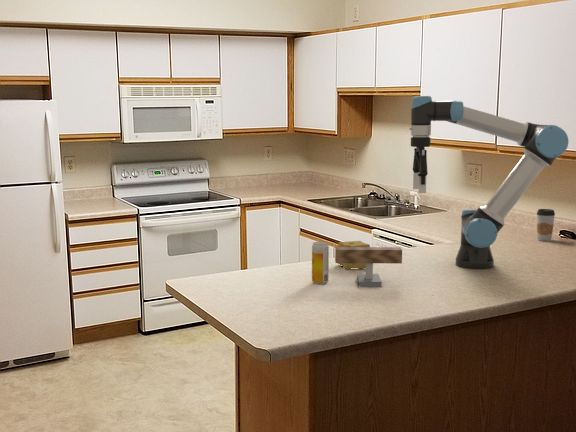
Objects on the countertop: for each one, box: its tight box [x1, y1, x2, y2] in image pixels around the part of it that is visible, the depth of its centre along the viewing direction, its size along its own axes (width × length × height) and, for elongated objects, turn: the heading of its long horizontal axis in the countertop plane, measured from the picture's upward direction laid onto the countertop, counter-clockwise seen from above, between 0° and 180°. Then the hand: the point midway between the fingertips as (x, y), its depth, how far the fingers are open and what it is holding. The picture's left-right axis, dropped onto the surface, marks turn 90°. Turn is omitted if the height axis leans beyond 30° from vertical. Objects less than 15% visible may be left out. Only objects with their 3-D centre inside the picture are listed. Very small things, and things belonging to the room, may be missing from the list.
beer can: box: [311, 241, 330, 286], centre depth 252 cm, size 6×6×15 cm
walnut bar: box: [334, 246, 403, 264], centre depth 251 cm, size 24×5×5 cm, turn 88°
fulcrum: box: [356, 263, 383, 288], centre depth 252 cm, size 8×12×8 cm, turn 178°
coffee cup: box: [536, 208, 556, 242], centre depth 334 cm, size 8×8×15 cm
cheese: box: [337, 240, 371, 270], centre depth 279 cm, size 10×11×10 cm
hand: (419, 191), depth 268 cm, fingers open, 13 cm apart
